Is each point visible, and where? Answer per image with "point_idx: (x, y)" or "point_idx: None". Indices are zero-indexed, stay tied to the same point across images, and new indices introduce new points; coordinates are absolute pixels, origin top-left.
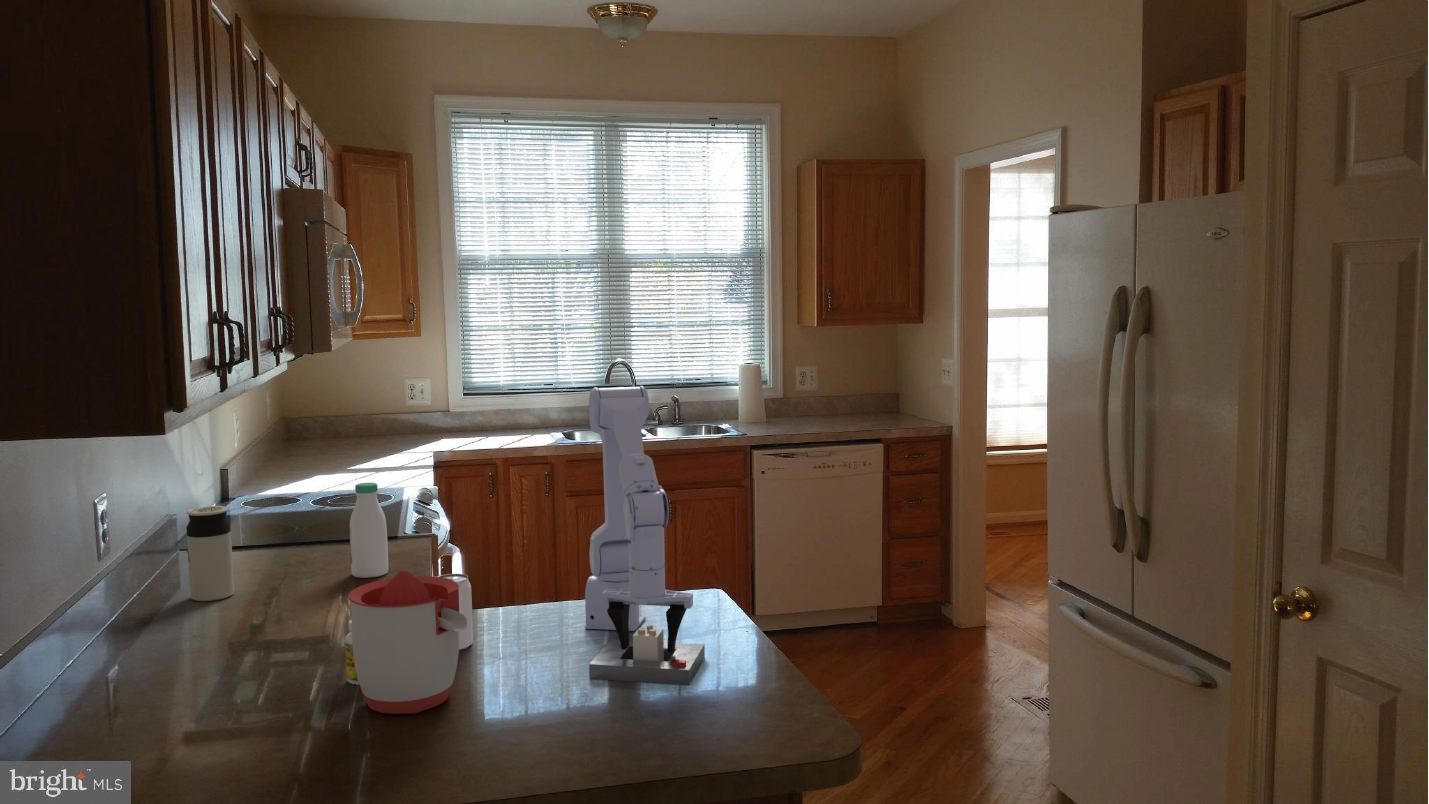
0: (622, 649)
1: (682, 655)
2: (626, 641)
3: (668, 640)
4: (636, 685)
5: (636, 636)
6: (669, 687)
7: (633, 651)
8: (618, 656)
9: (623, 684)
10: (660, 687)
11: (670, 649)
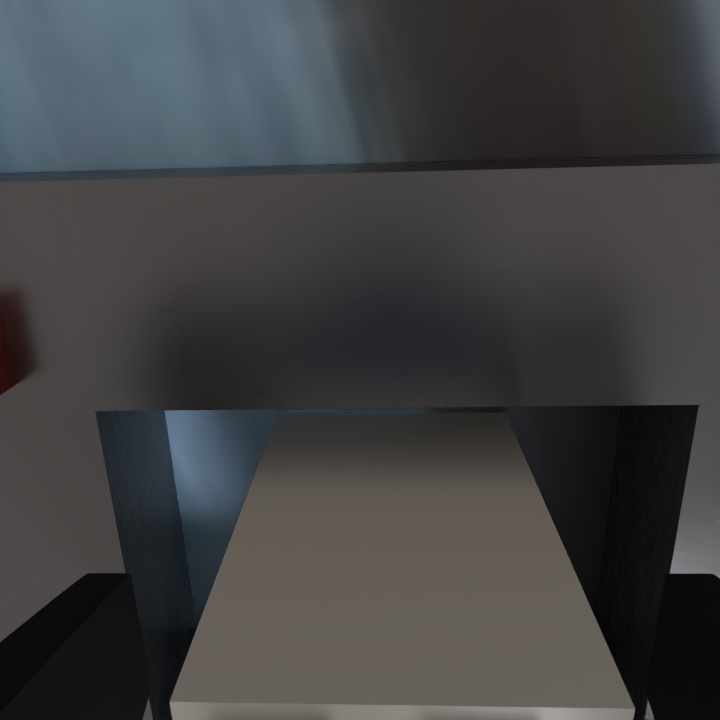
0: (706, 576)
1: (26, 598)
2: (700, 686)
3: (20, 672)
4: (386, 67)
5: (559, 691)
6: (37, 81)
7: (551, 525)
8: (718, 475)
9: (531, 67)
10: (124, 62)
11: (75, 589)
